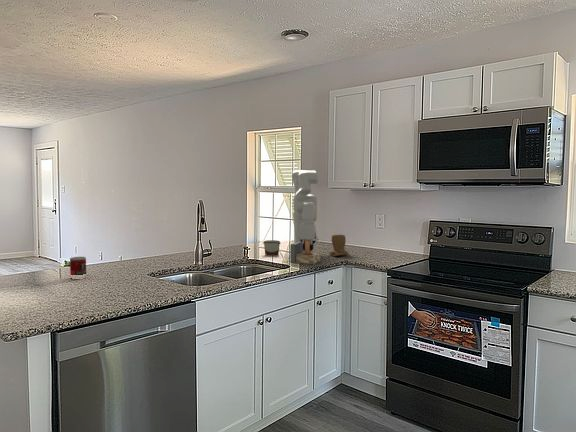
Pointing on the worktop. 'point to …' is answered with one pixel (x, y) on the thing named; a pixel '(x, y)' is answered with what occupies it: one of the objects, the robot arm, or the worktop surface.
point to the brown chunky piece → (338, 245)
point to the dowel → (307, 247)
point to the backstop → (295, 251)
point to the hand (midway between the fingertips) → (308, 250)
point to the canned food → (77, 265)
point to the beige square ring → (308, 258)
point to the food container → (271, 247)
